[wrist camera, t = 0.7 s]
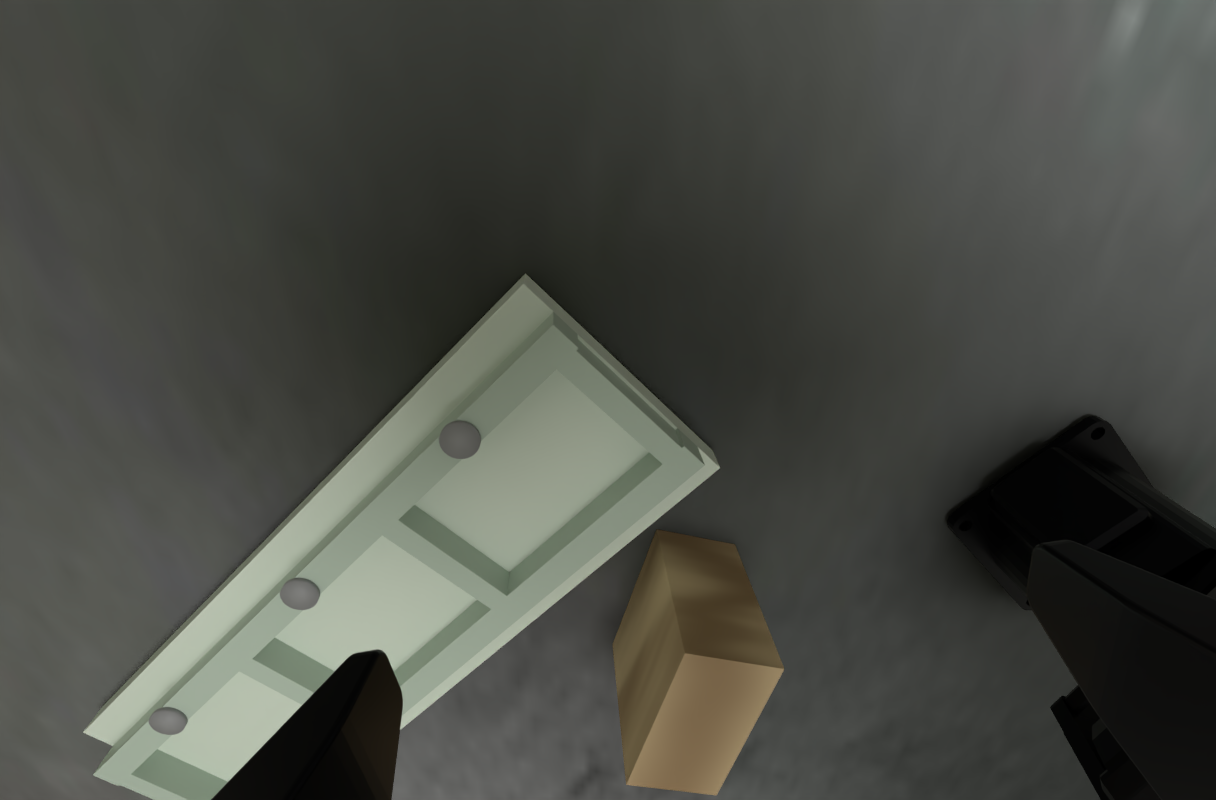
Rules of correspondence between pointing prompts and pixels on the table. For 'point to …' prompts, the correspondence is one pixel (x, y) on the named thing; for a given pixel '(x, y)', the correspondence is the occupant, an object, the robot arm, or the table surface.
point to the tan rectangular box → (690, 665)
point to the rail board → (415, 546)
